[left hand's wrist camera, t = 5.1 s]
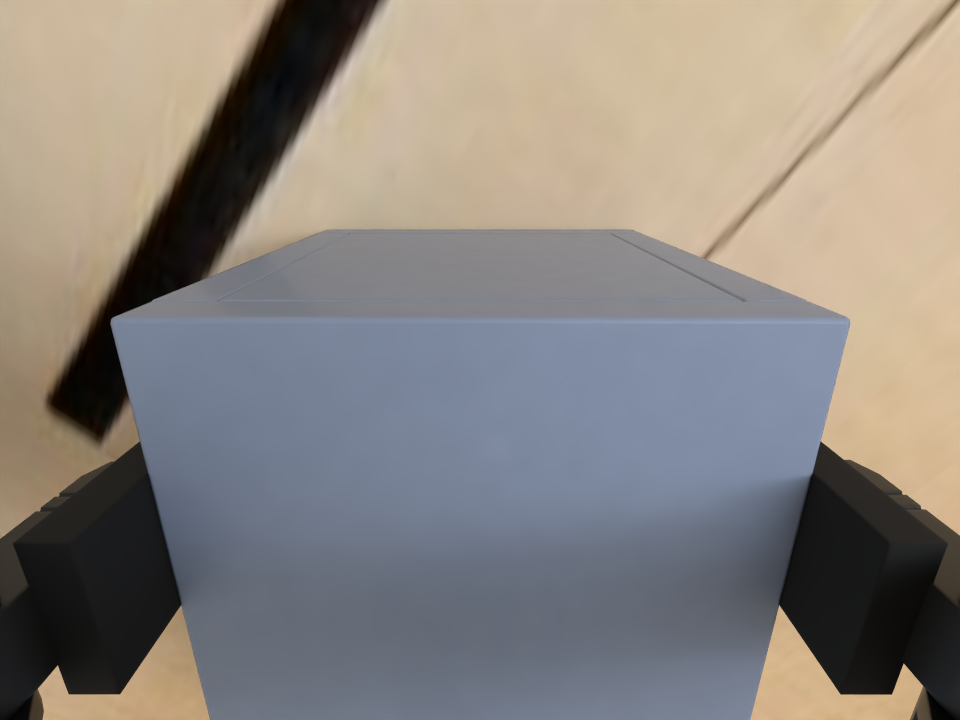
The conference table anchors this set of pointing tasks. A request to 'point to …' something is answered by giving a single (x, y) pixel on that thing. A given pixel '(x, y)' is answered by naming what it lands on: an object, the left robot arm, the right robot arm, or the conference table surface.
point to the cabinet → (480, 473)
